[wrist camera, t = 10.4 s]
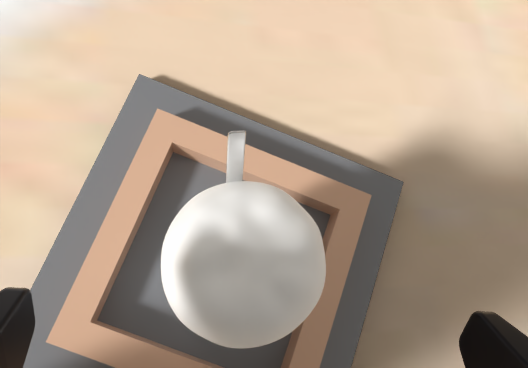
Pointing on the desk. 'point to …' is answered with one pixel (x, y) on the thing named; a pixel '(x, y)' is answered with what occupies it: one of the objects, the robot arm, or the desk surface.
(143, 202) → the dock
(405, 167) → the desk surface
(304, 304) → the milkshake
